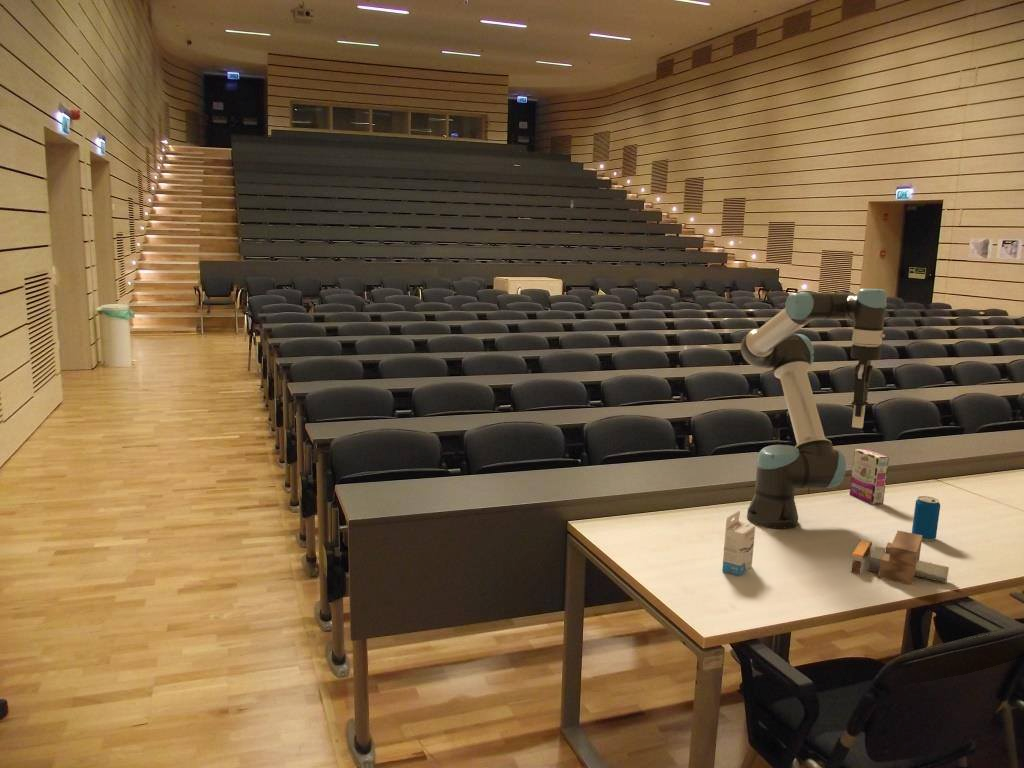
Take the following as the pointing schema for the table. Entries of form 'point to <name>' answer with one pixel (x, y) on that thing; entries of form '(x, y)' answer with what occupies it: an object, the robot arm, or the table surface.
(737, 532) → the ink box
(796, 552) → the table surface
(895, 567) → the hitch block
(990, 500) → the table surface
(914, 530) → the beverage can
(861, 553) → the bar
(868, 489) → the candy bar box
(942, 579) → the pin
